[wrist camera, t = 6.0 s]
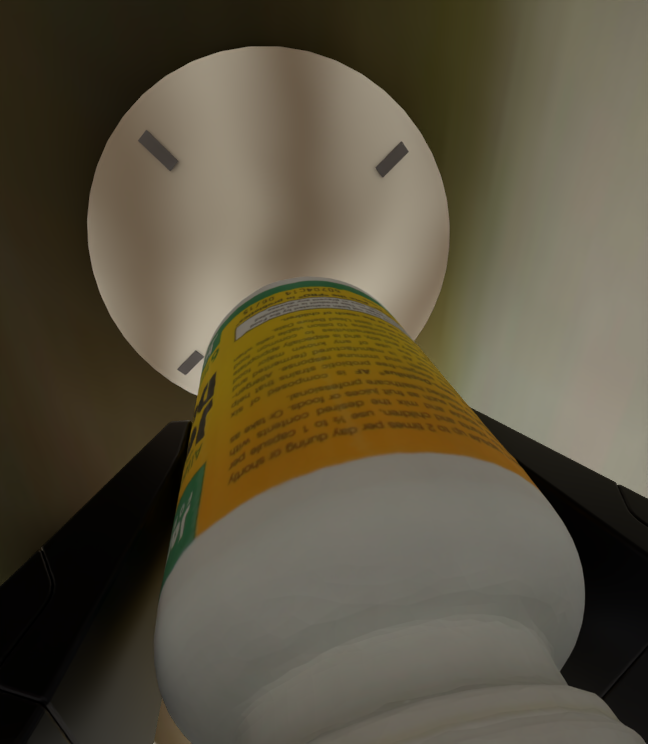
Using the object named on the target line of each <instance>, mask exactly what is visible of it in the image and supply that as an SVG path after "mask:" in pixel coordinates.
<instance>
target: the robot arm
mask: <svg viewBox="0 0 648 744" xmlns="http://www.w3.org/2000/svg"><path fill="white" fill-rule="evenodd" d="M470 408H471V407H470ZM471 409H472V408H471ZM472 410H473V411H474V413H475V414H476V415H477V416H478V417H479V419H480V420H481V421H482V422H483V424H484V425H485V426H486V427H487V428H488V429H489V430H490V432H491V433H492V434H493V435H494V436H495V438H496V439H497V440H498V441H499V442H500V443H501V445H502V446H503V447H504V448H505V449H506V450H507V451H508V452H509V453H510V454H511V455H512V456H513V457H514V458H515V459H516V461H517V462H518V464H519V465H520V466H521V467H522V468H523V469H524V471H525V472H526V473H527V475H528V476H529V477H530V479H531V480H532V481H533V482H534V484H535V485H536V486H537V487H538V489H539V490H540V491H541V493H542V494H543V495H544V496H545V498H546V499H547V500H548V502H549V503H550V504H551V505H552V507H553V508H554V510H555V511H556V513H557V514H558V515H559V517H560V518H561V520H562V521H563V523H564V525H565V526H566V528H567V530H568V532H569V534H570V536H571V537H572V539H573V542H574V544H575V547H576V550H577V552H578V555H579V559H580V562H581V565H582V570H583V577H584V585H585V606H584V614H583V621H582V625H581V629H580V632H579V635H578V638H577V641H576V644H575V646H574V648H573V650H572V652H571V654H570V656H569V658H568V659H567V661H566V662H565V664H564V666H563V667H562V669H561V670H560V673H561V675H562V676H563V678H564V680H565V681H566V683H567V684H568V686H571V687H574V688H577V689H581V690H584V691H587V692H591V693H595V694H596V695H597V696H598V697H600V698H601V699H602V700H603V701H604V702H605V703H606V704H607V705H608V706H609V708H610V709H611V710H612V712H613V713H614V714H615V716H616V717H617V718H618V720H619V721H620V722H622V723H623V724H624V725H625V726H627V727H629V728H631V729H632V730H634V731H635V732H636V733H638V734H639V735H640V736H641V737H642V738H643V740H644V741H645V743H646V744H648V499H647V498H645V497H643V496H641V495H639V494H637V493H635V492H634V491H632V490H630V489H628V488H626V487H624V486H622V485H617V484H616V482H614V481H612V480H610V479H608V478H606V477H604V476H602V475H600V474H599V473H597V472H595V471H593V470H591V469H589V468H587V467H585V466H583V465H581V464H579V463H577V462H575V461H573V460H571V459H569V458H567V457H566V456H564V455H562V454H560V453H558V452H556V451H554V450H552V449H550V448H548V447H546V446H544V445H542V444H540V443H538V442H536V441H534V440H533V439H531V438H529V437H527V436H525V435H523V434H521V433H519V432H517V431H515V430H513V429H511V428H509V427H507V426H505V425H503V424H502V423H500V422H498V421H496V420H494V419H492V418H490V417H488V416H486V415H484V414H482V413H480V412H478V411H476V410H474V409H472ZM192 425H193V424H192V422H191V421H189V420H186V421H172V422H170V423H168V424H167V425H166V426H165V427H164V428H163V429H162V430H161V431H160V432H159V433H158V434H157V435H156V436H155V437H154V438H153V439H152V440H151V441H150V442H149V443H148V444H147V445H146V446H145V447H144V448H143V449H142V450H141V451H140V452H139V453H138V454H137V455H136V456H135V457H133V458H132V459H131V460H130V461H129V462H128V463H127V464H126V465H125V466H124V467H123V468H122V469H121V470H120V471H119V472H118V473H117V474H116V475H115V476H114V477H113V478H112V479H111V480H110V481H109V482H108V483H107V484H106V485H105V486H104V487H103V488H102V489H101V490H100V491H99V492H98V493H97V494H96V495H95V496H93V497H92V498H91V499H90V500H89V501H88V502H87V503H86V504H85V505H84V506H83V507H82V508H81V509H80V510H79V511H78V512H77V513H76V514H75V515H74V516H73V517H72V518H71V519H70V520H69V521H68V522H67V523H66V524H65V525H64V526H63V527H62V528H61V529H60V530H59V531H58V532H57V533H56V534H54V535H53V536H52V537H51V538H50V539H49V540H48V541H47V542H46V543H45V544H44V545H43V546H42V551H37V552H36V553H35V554H34V555H33V556H32V557H31V558H30V559H29V560H28V561H27V562H26V563H24V564H23V565H22V566H21V567H20V568H19V569H18V570H17V571H16V572H15V573H14V574H13V575H12V576H11V577H10V578H9V579H8V580H7V581H6V582H4V583H3V584H2V585H1V586H0V744H153V743H154V737H155V732H156V727H157V721H158V716H159V711H160V705H161V700H162V696H161V693H160V691H159V687H158V682H157V677H156V671H155V665H154V632H155V625H156V617H157V609H158V602H159V595H160V590H161V585H162V581H163V576H164V570H165V565H166V560H167V555H168V549H169V543H170V538H171V533H172V529H173V524H174V518H175V513H176V508H177V502H178V496H179V491H180V486H181V481H182V476H183V470H184V466H185V461H186V457H187V450H188V444H189V439H190V433H191V429H192Z"/></svg>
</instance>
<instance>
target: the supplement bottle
mask: <svg viewBox="0 0 648 744" xmlns="http://www.w3.org/2000/svg"><path fill="white" fill-rule="evenodd" d="M584 606H585V585H584V577H583V570H582V565H581V562H580V559H579V555H578V552H577V550H576V547H575V544H574V542H573V539H572V537H571V536H570V534H569V532H568V530H567V528H566V526H565V525H564V523H563V521H562V520H561V518H560V517H559V515H558V514H557V513H556V511H555V510H554V508H553V507H552V505H551V504H550V503H549V502H548V500H547V499H546V498H545V496H544V495H543V494H542V493H541V491H540V490H539V489H538V487H537V486H536V485H535V484H534V482H533V481H532V480H531V479H530V477H529V476H528V475H527V473H526V472H525V471H524V469H523V468H522V467H521V466H520V465H519V464H518V462H517V461H516V459H515V458H514V457H513V456H512V455H511V454H510V453H509V452H508V451H507V450H506V449H505V448H504V447H503V446H502V445H501V443H500V442H499V441H498V440H497V439H496V438H495V436H494V435H493V434H492V433H491V432H490V430H489V429H488V428H487V427H486V426H485V425H484V424H483V422H482V421H481V420H480V419H479V417H478V416H477V415H476V414H475V413H474V411H473V410H472V409H471V408H470V407H469V406H468V405H467V404H466V403H465V401H464V400H463V399H462V398H461V397H460V395H459V394H458V393H457V392H456V391H455V389H454V388H453V387H452V386H451V385H450V384H449V383H448V381H447V380H446V379H445V378H444V377H443V375H442V374H441V373H440V372H439V371H438V369H437V368H436V367H435V366H434V365H433V363H432V362H431V361H430V360H429V359H428V357H427V356H426V355H425V354H424V353H423V352H422V350H421V349H420V348H419V347H418V345H417V344H416V343H415V342H414V340H413V339H412V338H411V337H410V336H409V335H408V333H407V332H406V331H405V330H404V329H403V327H402V326H401V325H400V324H399V323H398V321H397V320H396V319H395V318H394V317H393V316H392V315H391V314H390V312H389V311H388V310H387V309H386V308H385V307H384V306H383V305H382V304H381V303H380V302H379V301H377V300H376V299H375V298H373V297H372V296H371V295H370V294H368V293H366V292H365V291H363V290H361V289H360V288H358V287H356V286H353V285H351V284H349V283H346V282H343V281H340V280H336V279H331V278H324V277H311V276H310V277H297V278H291V279H286V280H281V281H277V282H274V283H271V284H268V285H266V286H263V287H262V288H260V289H258V290H257V291H255V292H254V293H252V294H251V295H249V296H248V297H246V298H245V299H243V300H242V301H241V302H240V303H238V304H237V305H236V306H235V307H234V308H233V309H232V310H231V311H230V312H229V313H228V314H227V315H226V316H225V318H224V319H223V320H222V321H221V323H220V324H219V326H218V327H217V329H216V330H215V332H214V334H213V336H212V338H211V340H210V342H209V345H208V347H207V350H206V354H205V358H204V364H203V368H202V373H201V378H200V384H199V390H198V395H197V401H196V406H195V411H194V418H193V425H192V429H191V433H190V439H189V444H188V450H187V457H186V461H185V466H184V470H183V476H182V481H181V486H180V491H179V496H178V502H177V508H176V513H175V518H174V524H173V529H172V533H171V538H170V543H169V549H168V555H167V560H166V565H165V570H164V576H163V581H162V585H161V590H160V595H159V602H158V609H157V617H156V625H155V632H154V665H155V671H156V677H157V682H158V687H159V691H160V693H161V696H162V698H163V701H164V703H165V705H166V708H167V710H168V713H169V715H170V716H171V718H172V719H173V721H174V722H175V724H176V725H177V727H178V728H179V729H180V730H181V732H182V733H183V734H184V736H185V737H186V738H187V739H188V740H189V741H190V742H191V743H192V744H646V743H645V741H644V740H643V738H642V737H641V736H640V735H639V734H638V733H636V732H635V731H634V730H632V729H631V728H629V727H627V726H625V725H624V724H623V723H622V722H620V721H619V720H618V718H617V717H616V716H615V714H614V713H613V712H612V710H611V709H610V708H609V706H608V705H607V704H606V703H605V702H604V701H603V700H602V699H601V698H600V697H598V696H597V695H596V694H595V693H591V692H587V691H584V690H581V689H577V688H574V687H571V686H568V684H567V683H566V681H565V680H564V678H563V676H562V675H561V673H560V670H561V669H562V667H563V666H564V664H565V662H566V661H567V659H568V658H569V656H570V654H571V652H572V650H573V648H574V646H575V644H576V641H577V638H578V635H579V632H580V629H581V625H582V621H583V614H584Z"/></svg>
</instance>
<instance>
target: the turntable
mask: <svg viewBox="0 0 648 744" xmlns="http://www.w3.org/2000/svg"><path fill="white" fill-rule="evenodd" d="M87 228H88V248H89V253H90V258H91V264H92V269H93V273H94V276H95V279H96V282H97V285H98V288H99V291H100V294H101V297H102V299H103V301H104V303H105V305H106V307H107V309H108V311H109V313H110V315H111V317H112V319H113V320H114V322H115V323H116V325H117V327H118V328H119V330H120V331H121V333H122V334H123V336H124V337H125V338H126V340H127V341H128V342H129V343H130V344H131V346H132V347H133V348H134V349H135V350H136V352H137V353H138V354H139V355H140V356H141V357H142V358H143V359H144V360H145V361H147V362H148V363H149V364H150V365H151V366H152V367H153V368H154V369H155V370H157V371H158V372H159V373H161V374H162V375H163V376H165V377H166V378H167V379H169V380H170V381H171V382H173V383H175V384H176V385H178V386H180V387H182V388H183V389H185V390H187V391H188V392H190V393H193V394H195V395H198V390H199V384H200V378H201V373H202V368H203V364H204V358H205V354H206V350H207V347H208V345H209V342H210V340H211V338H212V336H213V334H214V332H215V330H216V329H217V327H218V326H219V324H220V323H221V321H222V320H223V319H224V318H225V316H226V315H227V314H228V313H229V312H230V311H231V310H232V309H233V308H234V307H235V306H236V305H237V304H238V303H240V302H241V301H242V300H243V299H245V298H246V297H248V296H249V295H251V294H252V293H254V292H255V291H257V290H258V289H260V288H262V287H263V286H266V285H268V284H271V283H274V282H277V281H281V280H286V279H291V278H297V277H310V276H311V277H324V278H331V279H336V280H340V281H343V282H346V283H349V284H351V285H353V286H356V287H358V288H360V289H361V290H363V291H365V292H366V293H368V294H370V295H371V296H372V297H373V298H375V299H376V300H377V301H379V302H380V303H381V304H382V305H383V306H384V307H385V308H386V309H387V310H388V311H389V312H390V314H391V315H392V316H393V317H394V318H395V319H396V320H397V321H398V323H399V324H400V325H401V326H402V327H403V329H404V330H405V331H406V332H407V333H408V335H409V336H410V337H411V338H412V339H413V340H415V339H416V338H417V336H418V335H419V333H420V332H421V330H422V329H423V327H424V326H425V324H426V322H427V320H428V318H429V316H430V314H431V312H432V310H433V309H434V306H435V303H436V301H437V298H438V296H439V293H440V291H441V287H442V283H443V280H444V276H445V272H446V268H447V260H448V253H449V236H450V223H449V214H448V205H447V198H446V194H445V190H444V186H443V182H442V178H441V175H440V172H439V170H438V167H437V165H436V162H435V160H434V157H433V154H432V152H431V151H430V149H429V147H428V145H427V143H426V142H425V140H424V138H423V136H422V134H421V133H420V131H419V130H418V128H417V127H416V126H415V124H414V123H413V122H412V120H411V119H410V118H409V116H408V115H407V114H406V112H405V111H404V110H403V109H402V108H401V107H400V106H399V105H398V104H397V103H396V102H395V101H394V100H393V99H392V98H391V97H390V96H389V95H388V94H387V93H386V92H385V91H384V90H383V89H381V88H380V87H379V86H377V85H376V84H375V83H373V82H372V81H371V80H369V79H368V78H367V77H365V76H364V75H362V74H361V73H359V72H357V71H355V70H353V69H351V68H349V67H347V66H346V65H344V64H342V63H340V62H338V61H336V60H333V59H330V58H327V57H324V56H321V55H318V54H315V53H312V52H309V51H304V50H298V49H291V48H285V47H279V46H275V47H244V48H238V49H232V50H226V51H221V52H217V53H214V54H212V55H209V56H206V57H203V58H200V59H197V60H195V61H192V62H190V63H188V64H186V65H185V66H183V67H181V68H179V69H177V70H176V71H174V72H172V73H170V74H168V75H167V76H165V77H164V78H163V79H161V80H160V81H159V82H158V83H156V84H155V85H154V86H153V87H151V88H150V89H149V90H148V91H146V92H145V93H144V94H143V95H142V96H141V97H140V98H139V99H138V100H137V101H136V102H135V104H134V105H133V106H132V107H131V108H130V109H129V110H128V111H127V113H126V114H125V115H124V116H123V117H122V119H121V121H120V122H119V124H118V125H117V127H116V128H115V130H114V132H113V133H112V135H111V136H110V138H109V140H108V141H107V144H106V146H105V148H104V151H103V153H102V155H101V158H100V160H99V162H98V165H97V167H96V171H95V175H94V179H93V183H92V187H91V191H90V197H89V207H88V217H87Z"/></svg>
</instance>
